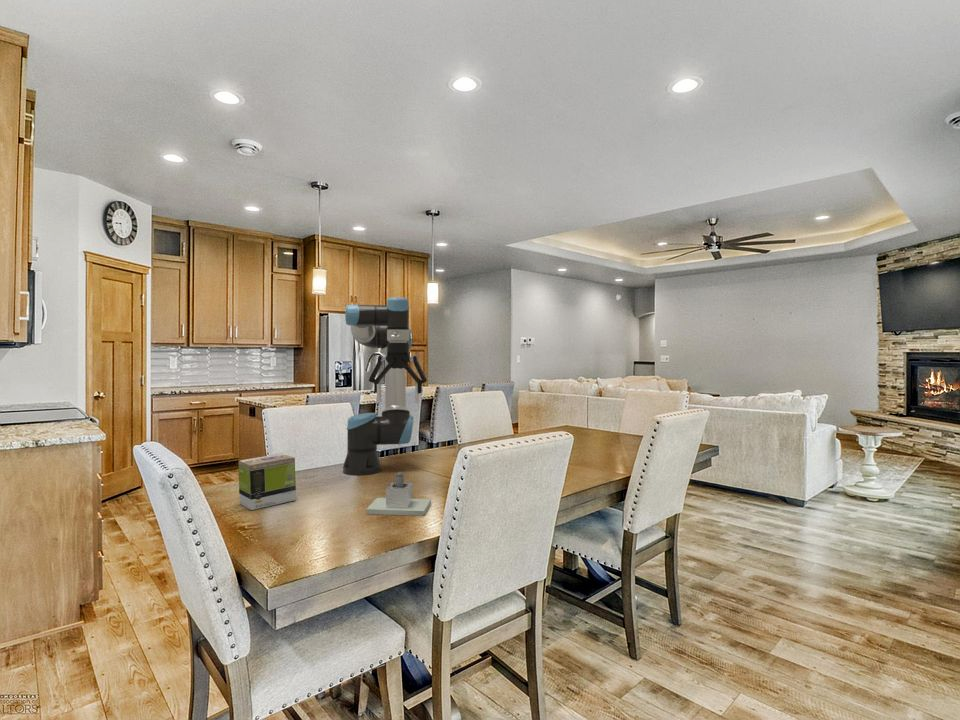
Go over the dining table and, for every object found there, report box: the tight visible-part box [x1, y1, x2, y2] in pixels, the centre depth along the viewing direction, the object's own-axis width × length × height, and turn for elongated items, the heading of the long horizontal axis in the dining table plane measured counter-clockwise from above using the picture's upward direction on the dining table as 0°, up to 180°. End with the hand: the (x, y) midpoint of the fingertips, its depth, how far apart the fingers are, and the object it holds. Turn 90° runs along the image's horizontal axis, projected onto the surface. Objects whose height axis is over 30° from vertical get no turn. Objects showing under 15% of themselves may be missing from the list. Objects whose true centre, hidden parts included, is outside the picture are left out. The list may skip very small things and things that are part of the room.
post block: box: [365, 471, 432, 517], centre depth 165 cm, size 12×18×12 cm, turn 85°
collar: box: [385, 481, 414, 508], centre depth 165 cm, size 7×7×6 cm
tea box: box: [238, 452, 297, 511], centre depth 171 cm, size 15×10×15 cm
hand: (397, 402), depth 183 cm, fingers open, 13 cm apart
